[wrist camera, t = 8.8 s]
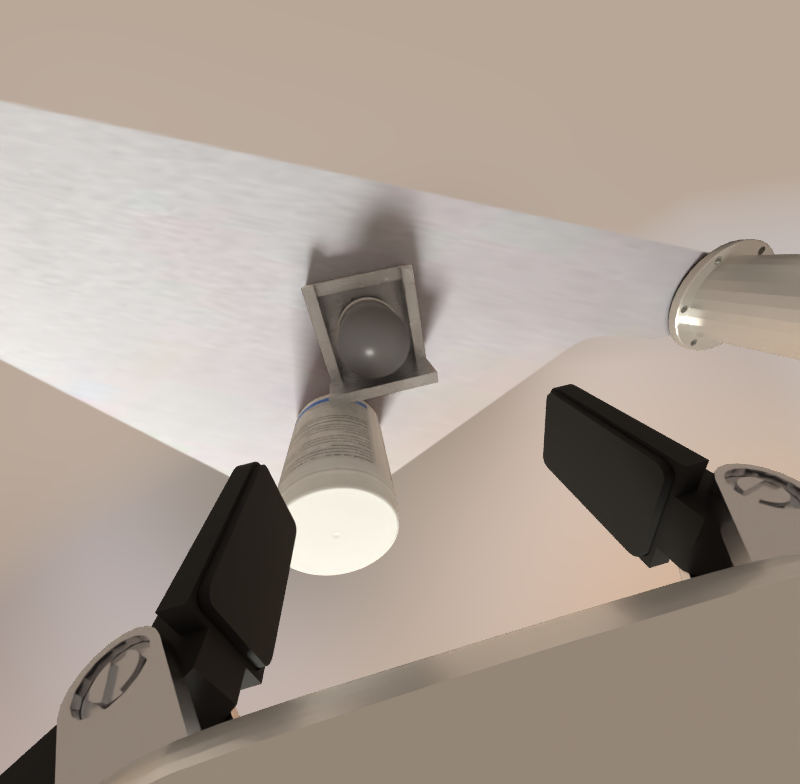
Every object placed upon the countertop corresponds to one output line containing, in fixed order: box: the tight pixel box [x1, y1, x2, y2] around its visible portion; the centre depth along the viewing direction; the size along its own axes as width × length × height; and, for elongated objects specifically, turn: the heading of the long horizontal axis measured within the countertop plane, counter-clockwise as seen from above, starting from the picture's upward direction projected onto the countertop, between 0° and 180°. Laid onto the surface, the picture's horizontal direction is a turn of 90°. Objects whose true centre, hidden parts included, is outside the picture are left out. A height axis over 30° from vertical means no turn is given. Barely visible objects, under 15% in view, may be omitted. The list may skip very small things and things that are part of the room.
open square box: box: [301, 264, 438, 408], centre depth 26 cm, size 10×10×7 cm
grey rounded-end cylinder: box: [338, 297, 410, 378], centre depth 25 cm, size 6×6×7 cm
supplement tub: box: [278, 394, 399, 575], centre depth 27 cm, size 10×10×15 cm
